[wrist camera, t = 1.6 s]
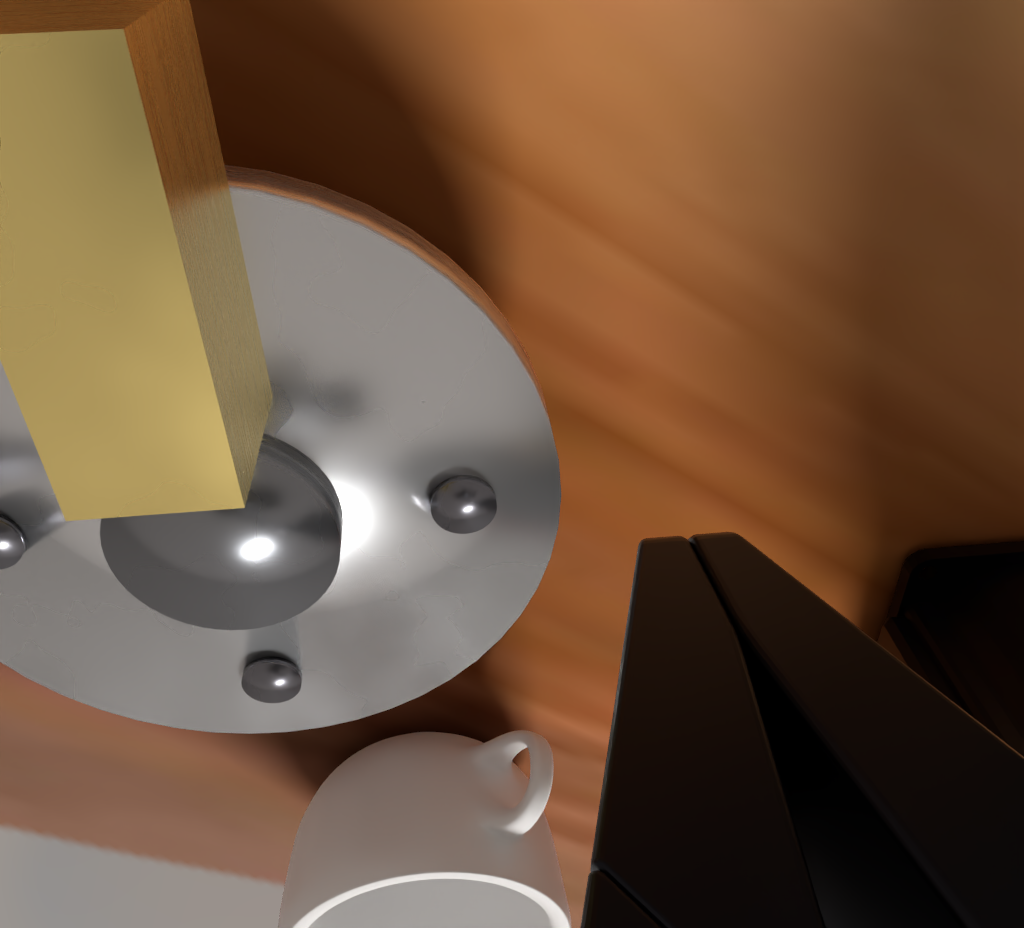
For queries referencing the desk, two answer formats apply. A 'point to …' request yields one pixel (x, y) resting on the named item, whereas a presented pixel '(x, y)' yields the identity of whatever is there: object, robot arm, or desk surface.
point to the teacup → (429, 839)
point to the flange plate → (385, 442)
